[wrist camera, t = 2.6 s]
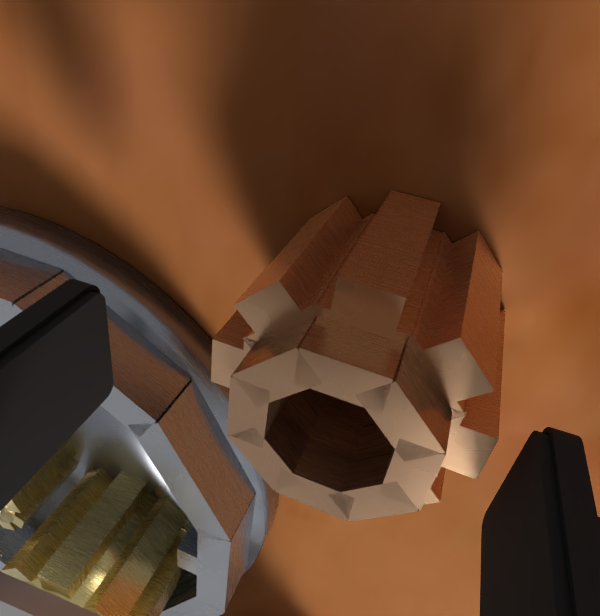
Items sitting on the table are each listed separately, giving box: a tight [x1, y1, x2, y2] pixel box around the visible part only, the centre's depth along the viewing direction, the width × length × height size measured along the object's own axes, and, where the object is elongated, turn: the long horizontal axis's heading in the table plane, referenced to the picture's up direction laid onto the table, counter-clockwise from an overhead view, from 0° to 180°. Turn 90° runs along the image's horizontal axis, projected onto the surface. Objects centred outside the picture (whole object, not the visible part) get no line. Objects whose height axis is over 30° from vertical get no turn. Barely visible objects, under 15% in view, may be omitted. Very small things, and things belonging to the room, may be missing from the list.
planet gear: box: [211, 190, 505, 521], centre depth 12 cm, size 6×6×6 cm
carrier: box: [0, 207, 279, 616], centre depth 20 cm, size 20×20×7 cm
